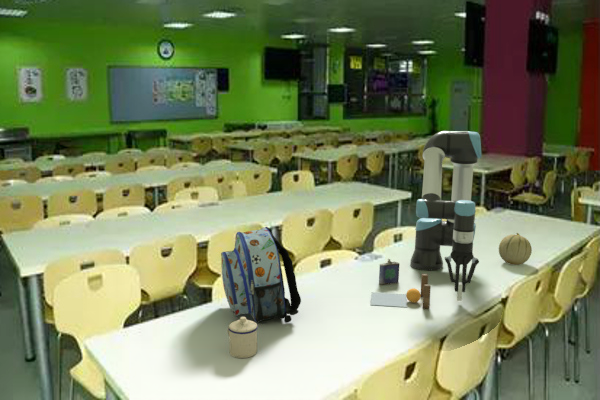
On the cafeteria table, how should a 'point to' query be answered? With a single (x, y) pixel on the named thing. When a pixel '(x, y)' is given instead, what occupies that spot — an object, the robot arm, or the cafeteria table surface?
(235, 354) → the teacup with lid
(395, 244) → the cafeteria table surface
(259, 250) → the backpack
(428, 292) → the post
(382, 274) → the flask
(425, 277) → the post
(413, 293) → the ball
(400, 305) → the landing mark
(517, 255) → the cantaloupe
